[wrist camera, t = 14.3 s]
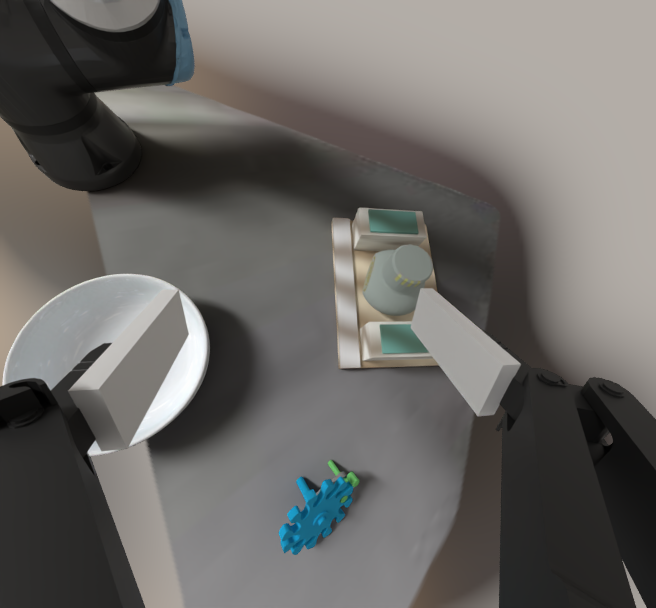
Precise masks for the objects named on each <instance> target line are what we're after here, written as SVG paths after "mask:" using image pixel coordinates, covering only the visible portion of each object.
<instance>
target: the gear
mask: <svg viewBox="0 0 656 608" xmlns="http://www.w3.org/2000/svg"><path fill="white" fill-rule="evenodd" d="M328 465H329V466H330V468H331V469H332V471H333V472H334V474H335V475H336V476H335V477H334V478H333V479H332V480H331V479H328V480H324V481H323V483H322V485H321V489H320V490H319V491H318V492H316V493H315V491H314V489H312V490H310V489H309V487H308V485H307V484H306V482H305V480H304V478H303V477H300V478H298V479H297V481H296V483H297V485H298V486H299V488H300V490H301V492H302V494H303V496H304V499H305V501H306V505H305V508H304V510H303V511H302V512H300V510H299V508H298V506H294V507H293V508H292V509H291V510H290V511H289V512H288V514H287V515H288V517H289V520H290V522H291V523H295V524H294V525H292V526H290V525H289V524H288V523H286V524H284V525H283V526H282V527H281V529H280V531H279V536H280V538H281V546H282V549H283V551H284V553H286V552H287V551H289V550H290V549H291V551H292V553H293V554H294V555H297V554H298V553H299V552H300V551H301V549H302V547H303V546H304V545H305V546H306V548H307V549H310V548H313V547H314V546H315V544H316V541H317V538H318V536H319V535H320V533H321V534H322V536H323V538H325V537H326V536H328V535H329V534H330V533H331V532H332V529H331V527H330V525H331V522H332V520H333V519H334V518H335V520H336V521H337V523H339V522H340V521H341V520H342V519H343V518H344V516H345V514H344V512H343V511H342V509H341V508H340V507H341V506H343V505H344V506H345V507H346V508H347V507H349V506H350V504H351V502H352V500H353V499H352V497H351V496H350V494H352V492H353V487H356V486H357V485H358V484H359V479H358V478H357V477H356V475H355V474H354V473H353V472H350V473H349V474H348V475H347V474H346V473H345V472H344V471H343V472H340V471H339V469H338V468H337V466H336V465H335V464H334V462H333V461H332V460H330V461H329V462H328ZM351 484H352V485H351Z"/></svg>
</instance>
